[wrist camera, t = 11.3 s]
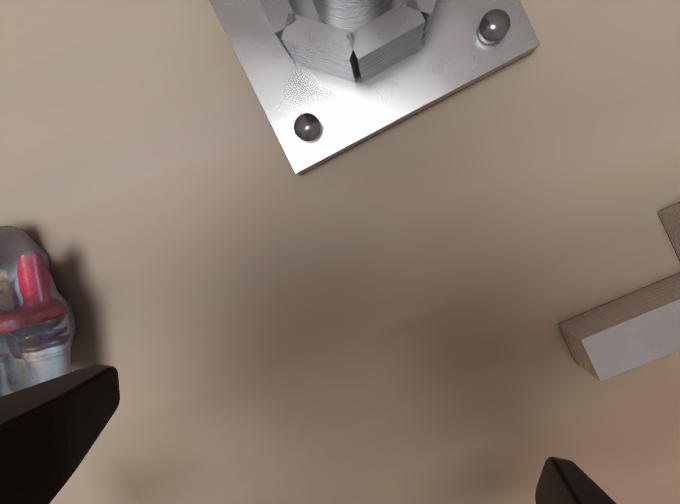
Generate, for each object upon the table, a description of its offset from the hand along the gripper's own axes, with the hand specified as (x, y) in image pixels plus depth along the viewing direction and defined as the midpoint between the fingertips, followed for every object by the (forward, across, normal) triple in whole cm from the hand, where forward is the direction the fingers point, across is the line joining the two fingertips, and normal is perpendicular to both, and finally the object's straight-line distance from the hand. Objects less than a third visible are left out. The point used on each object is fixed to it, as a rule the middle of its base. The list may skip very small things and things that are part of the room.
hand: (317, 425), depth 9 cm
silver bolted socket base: (+15, +3, -11) cm, 19 cm away
